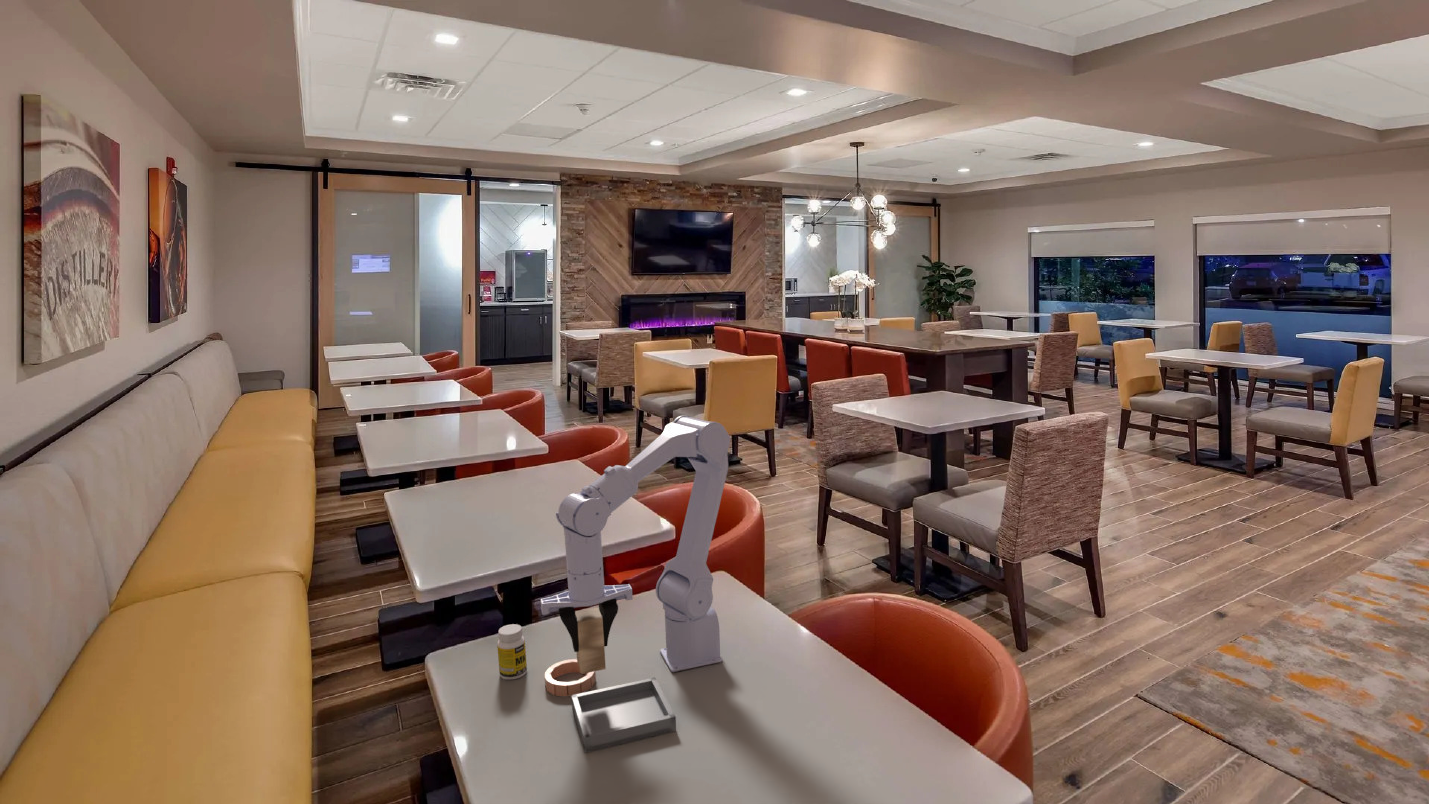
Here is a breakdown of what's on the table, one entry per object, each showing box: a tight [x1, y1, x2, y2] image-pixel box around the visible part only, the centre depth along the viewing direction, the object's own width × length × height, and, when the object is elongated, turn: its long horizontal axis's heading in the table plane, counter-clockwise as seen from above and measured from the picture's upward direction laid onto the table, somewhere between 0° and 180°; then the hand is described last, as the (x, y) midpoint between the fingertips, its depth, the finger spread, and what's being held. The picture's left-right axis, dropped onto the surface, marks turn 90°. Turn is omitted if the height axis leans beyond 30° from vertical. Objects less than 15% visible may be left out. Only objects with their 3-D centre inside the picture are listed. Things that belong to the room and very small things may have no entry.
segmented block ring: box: [544, 658, 597, 697], centre depth 129 cm, size 8×8×2 cm
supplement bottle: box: [496, 623, 528, 680], centre depth 132 cm, size 5×5×8 cm
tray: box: [570, 677, 677, 753], centre depth 118 cm, size 14×12×2 cm
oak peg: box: [575, 606, 607, 675], centre depth 122 cm, size 4×4×9 cm
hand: (590, 646), depth 122 cm, fingers closed on oak peg, 4 cm apart
